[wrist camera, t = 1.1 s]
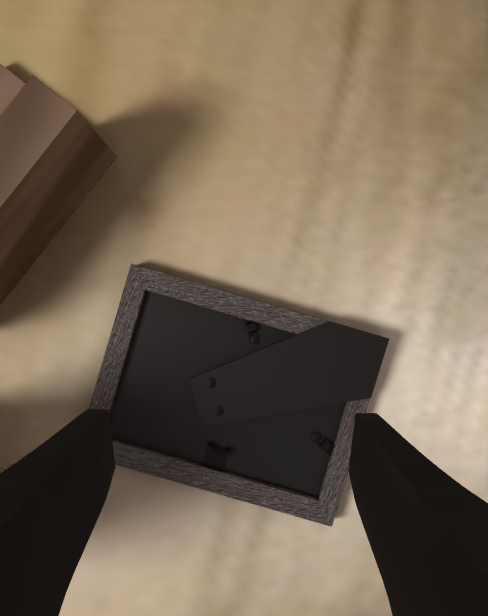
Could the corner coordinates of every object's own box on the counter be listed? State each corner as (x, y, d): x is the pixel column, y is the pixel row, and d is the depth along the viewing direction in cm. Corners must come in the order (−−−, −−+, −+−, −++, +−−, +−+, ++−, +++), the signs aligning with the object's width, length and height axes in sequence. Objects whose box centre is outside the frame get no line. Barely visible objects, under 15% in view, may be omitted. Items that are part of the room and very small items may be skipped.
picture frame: (379, 336, 30) (136, 265, 30) (389, 338, 28) (129, 262, 28) (327, 515, 30) (84, 445, 30) (333, 530, 28) (73, 455, 28)
